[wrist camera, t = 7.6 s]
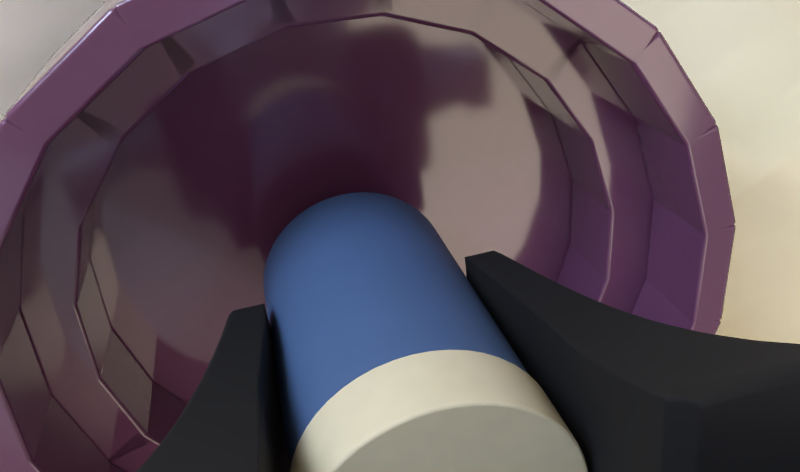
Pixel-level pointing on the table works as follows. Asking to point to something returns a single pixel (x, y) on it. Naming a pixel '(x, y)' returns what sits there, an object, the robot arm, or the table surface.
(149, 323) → the bowl
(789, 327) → the table surface
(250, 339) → the robot arm
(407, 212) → the glue stick
